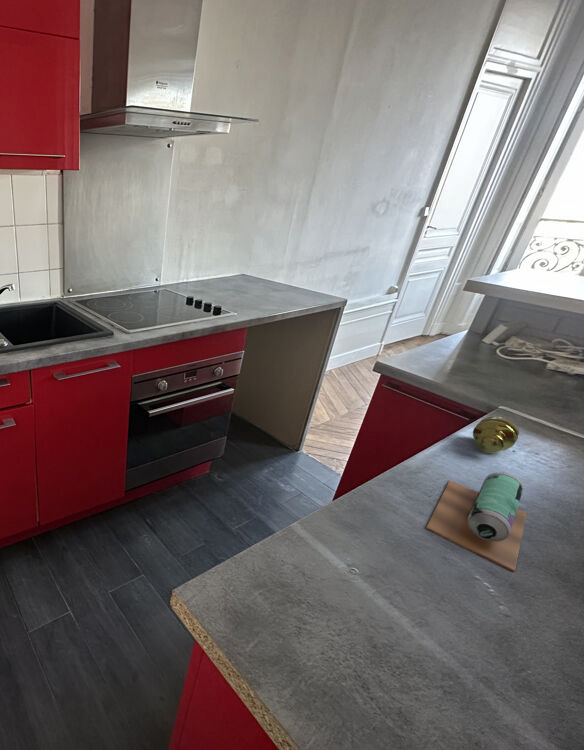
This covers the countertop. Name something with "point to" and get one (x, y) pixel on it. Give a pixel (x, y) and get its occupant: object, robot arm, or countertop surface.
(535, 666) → the countertop surface
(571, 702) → the countertop surface
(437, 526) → the wooden board
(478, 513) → the spray can
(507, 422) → the gold stacked rounded piece
